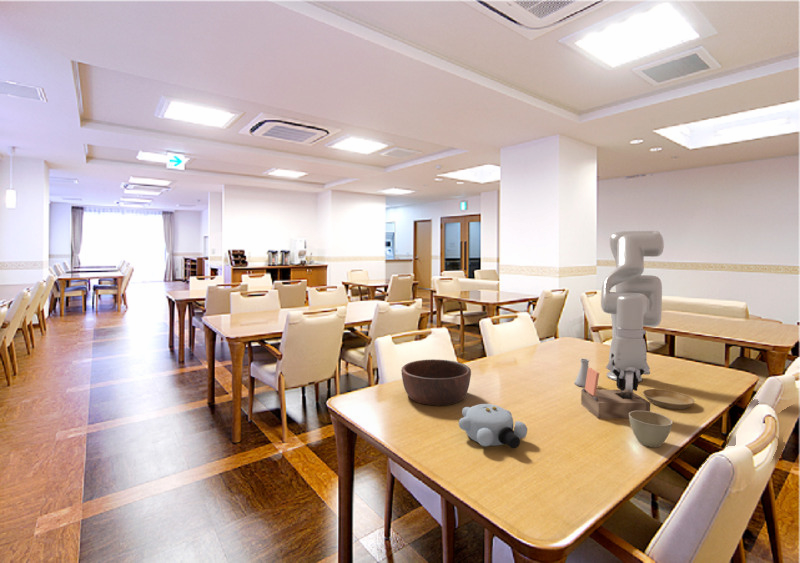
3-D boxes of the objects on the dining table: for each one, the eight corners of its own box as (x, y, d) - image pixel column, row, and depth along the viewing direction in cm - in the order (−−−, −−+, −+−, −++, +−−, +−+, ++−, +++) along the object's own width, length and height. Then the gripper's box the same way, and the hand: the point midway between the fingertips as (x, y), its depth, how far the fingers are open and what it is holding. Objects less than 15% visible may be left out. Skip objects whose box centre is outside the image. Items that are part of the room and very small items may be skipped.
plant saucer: (659, 393, 147) (659, 386, 147) (703, 407, 133) (704, 399, 133) (633, 399, 141) (633, 392, 140) (677, 415, 127) (677, 407, 127)
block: (628, 403, 136) (628, 386, 136) (649, 418, 124) (650, 399, 124) (579, 403, 136) (580, 386, 136) (596, 418, 124) (597, 399, 124)
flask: (596, 388, 152) (597, 362, 151) (576, 387, 153) (577, 361, 152) (591, 382, 159) (592, 357, 158) (572, 381, 160) (572, 356, 159)
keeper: (584, 389, 133) (587, 389, 133) (593, 395, 127) (595, 396, 127) (588, 367, 132) (590, 367, 132) (596, 372, 126) (599, 373, 126)
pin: (629, 397, 132) (631, 363, 131) (637, 402, 127) (639, 367, 126) (615, 397, 132) (617, 363, 131) (623, 402, 127) (624, 367, 127)
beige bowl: (672, 455, 101) (673, 428, 101) (627, 446, 107) (628, 420, 106) (670, 440, 110) (671, 415, 109) (628, 431, 115) (629, 407, 114)
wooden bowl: (484, 395, 145) (484, 367, 144) (442, 415, 127) (442, 384, 126) (430, 380, 162) (430, 355, 161) (387, 396, 144) (387, 368, 143)
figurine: (446, 427, 118) (485, 467, 100) (448, 400, 116) (488, 435, 98) (494, 417, 125) (540, 453, 106) (497, 391, 123) (543, 423, 105)
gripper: (647, 331, 132) (645, 385, 133) (597, 331, 132) (595, 385, 133) (662, 335, 124) (659, 393, 126) (609, 335, 124) (607, 393, 126)
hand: (627, 388), depth 129 cm, fingers closed on pin, 3 cm apart
